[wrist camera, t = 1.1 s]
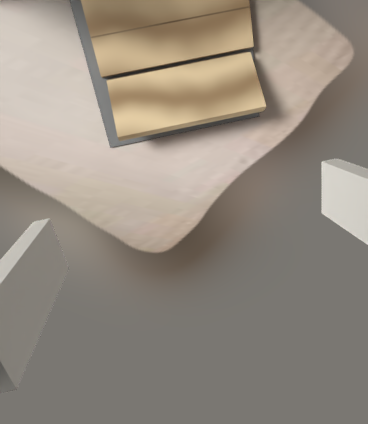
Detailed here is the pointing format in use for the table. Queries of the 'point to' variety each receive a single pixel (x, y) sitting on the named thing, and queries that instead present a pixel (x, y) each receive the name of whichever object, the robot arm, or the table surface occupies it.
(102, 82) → the underlay mat
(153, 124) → the board
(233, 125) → the table surface
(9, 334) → the robot arm
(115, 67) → the floor board
